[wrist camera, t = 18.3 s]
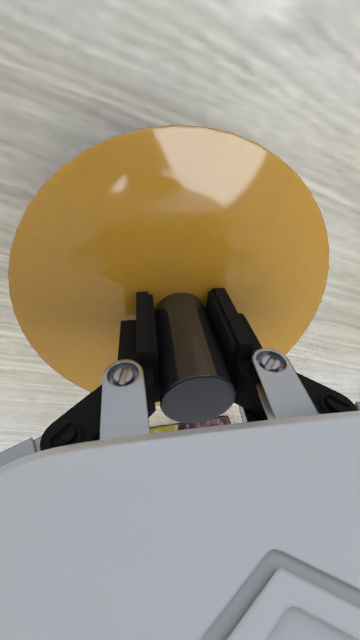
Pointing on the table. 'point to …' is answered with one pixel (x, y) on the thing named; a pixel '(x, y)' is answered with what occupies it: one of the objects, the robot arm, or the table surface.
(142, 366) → the robot arm
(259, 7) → the table surface
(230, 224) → the cover
